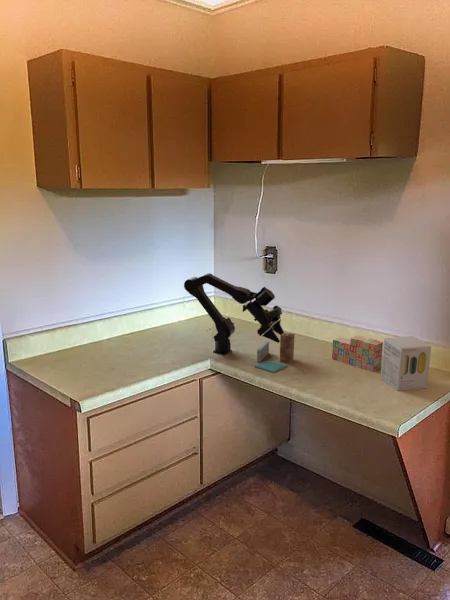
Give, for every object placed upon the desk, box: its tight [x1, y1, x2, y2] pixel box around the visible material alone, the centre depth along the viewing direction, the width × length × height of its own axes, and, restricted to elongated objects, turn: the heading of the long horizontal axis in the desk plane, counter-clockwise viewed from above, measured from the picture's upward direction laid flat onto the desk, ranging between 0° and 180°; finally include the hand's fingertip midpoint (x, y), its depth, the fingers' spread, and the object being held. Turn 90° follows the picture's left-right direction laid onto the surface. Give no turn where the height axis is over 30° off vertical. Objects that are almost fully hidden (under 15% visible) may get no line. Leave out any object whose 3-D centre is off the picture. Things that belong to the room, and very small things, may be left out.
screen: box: [256, 341, 270, 363], centre depth 243 cm, size 2×13×6 cm, turn 159°
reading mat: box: [254, 359, 288, 374], centre depth 232 cm, size 10×10×1 cm
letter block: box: [279, 332, 296, 364], centre depth 239 cm, size 5×5×12 cm
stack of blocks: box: [331, 334, 384, 373], centre depth 236 cm, size 21×6×12 cm, turn 43°
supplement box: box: [380, 335, 432, 391], centre depth 214 cm, size 13×13×18 cm
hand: (282, 339), depth 239 cm, fingers open, 9 cm apart
